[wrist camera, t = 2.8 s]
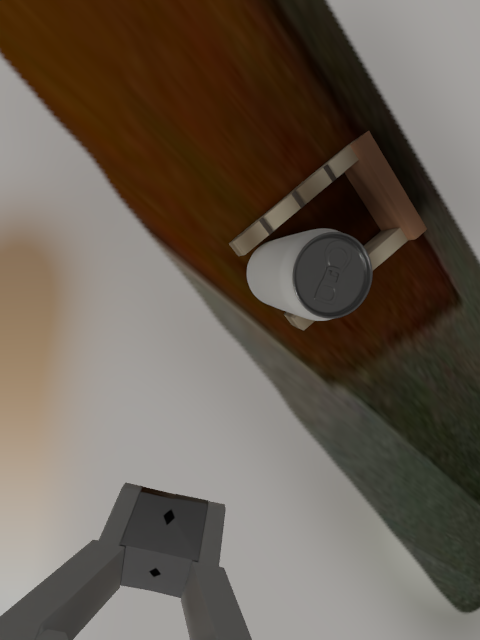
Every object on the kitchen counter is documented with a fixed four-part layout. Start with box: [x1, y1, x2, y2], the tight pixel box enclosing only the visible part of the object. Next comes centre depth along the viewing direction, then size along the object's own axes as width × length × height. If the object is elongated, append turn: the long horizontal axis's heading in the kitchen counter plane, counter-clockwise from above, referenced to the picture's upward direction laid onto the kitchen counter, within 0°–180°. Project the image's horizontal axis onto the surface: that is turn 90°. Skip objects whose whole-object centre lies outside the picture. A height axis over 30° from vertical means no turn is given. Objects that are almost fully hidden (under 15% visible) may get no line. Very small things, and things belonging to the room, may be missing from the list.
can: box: [247, 228, 372, 321], centre depth 28 cm, size 6×6×12 cm
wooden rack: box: [229, 131, 427, 331], centre depth 32 cm, size 15×10×4 cm
